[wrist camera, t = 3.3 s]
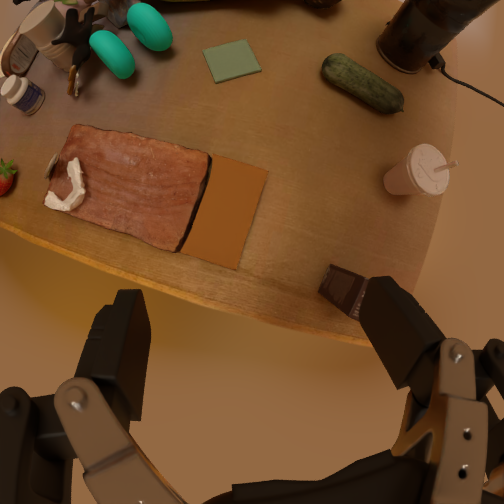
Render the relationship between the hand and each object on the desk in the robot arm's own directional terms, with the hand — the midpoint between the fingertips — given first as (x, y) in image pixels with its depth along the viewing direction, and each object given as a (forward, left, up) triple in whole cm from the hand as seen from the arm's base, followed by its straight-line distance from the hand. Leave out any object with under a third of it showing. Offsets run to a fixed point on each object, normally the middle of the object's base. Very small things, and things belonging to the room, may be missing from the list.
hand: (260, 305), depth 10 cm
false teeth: (+19, -17, -21) cm, 33 cm away
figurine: (+11, -43, -15) cm, 46 cm away
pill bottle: (+27, -40, -27) cm, 56 cm away
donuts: (+6, -36, -27) cm, 45 cm away
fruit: (+39, -26, -26) cm, 54 cm away
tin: (+28, -55, -27) cm, 68 cm away
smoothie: (-24, -3, -27) cm, 36 cm away
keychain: (+23, -21, -23) cm, 38 cm away
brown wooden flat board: (+10, -13, -27) cm, 32 cm away
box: (-11, +8, -27) cm, 30 cm away
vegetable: (-25, -18, -27) cm, 41 cm away
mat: (-8, -29, -27) cm, 40 cm away
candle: (+17, -44, -27) cm, 55 cm away
